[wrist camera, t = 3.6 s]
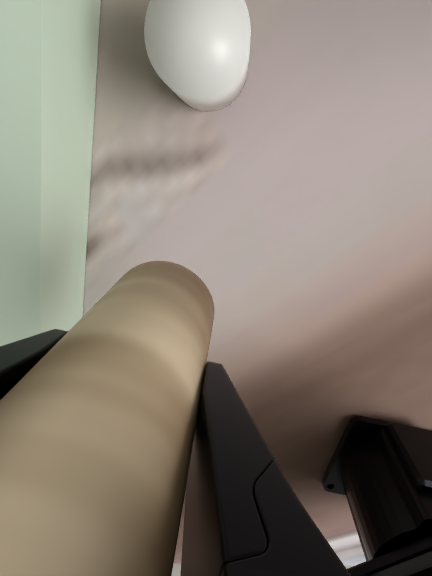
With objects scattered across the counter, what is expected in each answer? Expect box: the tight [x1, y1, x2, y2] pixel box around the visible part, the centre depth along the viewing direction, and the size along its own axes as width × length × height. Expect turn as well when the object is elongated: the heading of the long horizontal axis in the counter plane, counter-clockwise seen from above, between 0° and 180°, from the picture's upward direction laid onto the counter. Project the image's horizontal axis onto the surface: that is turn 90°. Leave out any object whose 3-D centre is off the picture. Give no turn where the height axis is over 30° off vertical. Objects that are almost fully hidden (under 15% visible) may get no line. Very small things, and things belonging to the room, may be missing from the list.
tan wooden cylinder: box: [0, 261, 214, 576], centre depth 7 cm, size 4×4×10 cm
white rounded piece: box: [144, 0, 251, 111], centre depth 13 cm, size 4×4×4 cm
